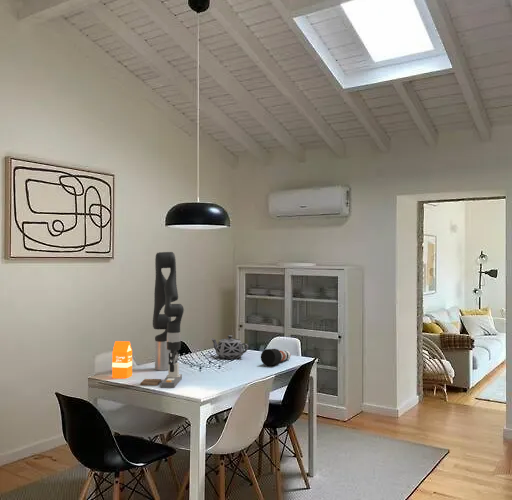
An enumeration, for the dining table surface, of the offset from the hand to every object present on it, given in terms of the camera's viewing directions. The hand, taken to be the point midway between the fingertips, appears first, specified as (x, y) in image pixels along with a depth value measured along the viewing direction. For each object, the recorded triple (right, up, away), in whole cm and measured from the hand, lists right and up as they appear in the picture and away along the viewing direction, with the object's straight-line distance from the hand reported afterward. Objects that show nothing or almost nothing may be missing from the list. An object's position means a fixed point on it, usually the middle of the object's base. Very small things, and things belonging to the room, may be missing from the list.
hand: (173, 370), depth 301 cm
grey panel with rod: (0, -6, -1) cm, 6 cm away
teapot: (+26, -8, +75) cm, 80 cm away
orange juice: (-31, -6, +11) cm, 33 cm away
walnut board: (-11, -6, -5) cm, 14 cm away
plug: (0, -3, 0) cm, 3 cm away
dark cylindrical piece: (+60, -8, +57) cm, 83 cm away
